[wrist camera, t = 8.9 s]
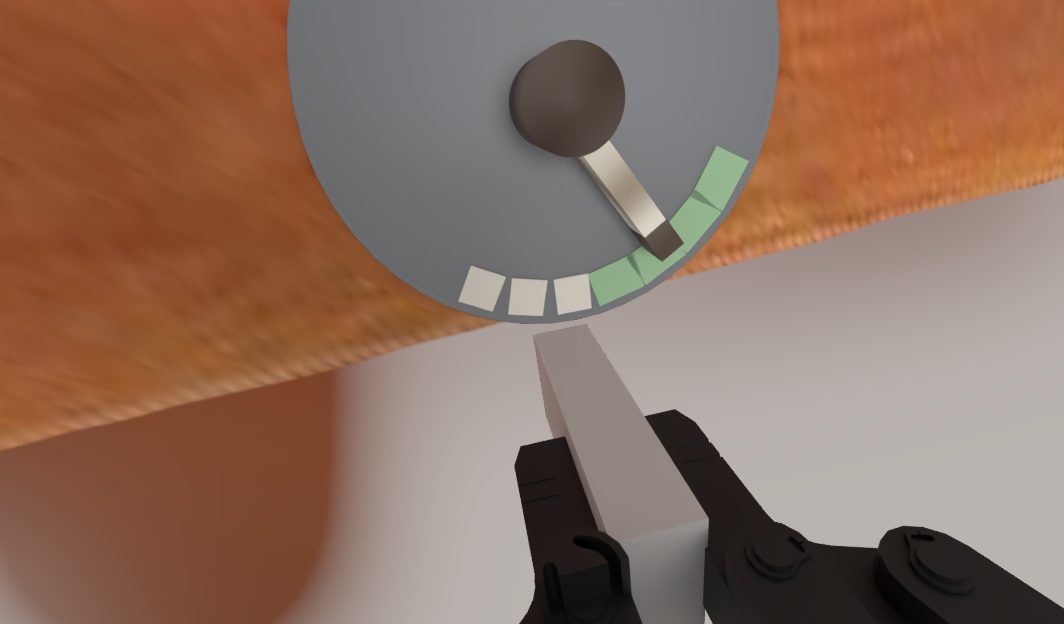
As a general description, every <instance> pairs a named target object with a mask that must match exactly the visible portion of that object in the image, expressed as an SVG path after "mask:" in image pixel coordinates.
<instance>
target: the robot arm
mask: <svg viewBox="0 0 1064 624" xmlns="http://www.w3.org/2000/svg"><path fill="white" fill-rule="evenodd" d="M533 337H534V343H535V349H536V356H537V362H538V369H539V375H540V381H541V387H542V393H543V399H544V406H545V412H546V417H547V420H548V422H549V426H550V429H551V432H552V435H553V438H554V439H551V440H547V441H542V442H538V443H533V444H529V445H525V446H521V447H520V450H519V453H518V456H517V460H516V462H515V472H516V477H517V482H518V487H519V493H520V498H521V503H522V509H523V514H524V520H525V524H526V530H527V535H528V541H529V546H530V551H531V557H532V562H533V567H534V573H535V592H534V598H533V601H532V603H531V605H530V608H529V610H528V612H527V614H526V615H525V616H524V618H523V619H522V621H521V622H520V623H519V624H704V622H705V621H704V620H705V610H706V612H707V613H708V616H709V617H710V619H711V621H712V623H713V624H1064V608H1062V607H1061V606H1059V605H1058V604H1056V603H1055V602H1053V601H1052V600H1050V599H1049V598H1047V597H1046V596H1044V595H1043V594H1041V593H1039V592H1038V591H1036V590H1035V589H1033V588H1032V587H1030V586H1029V585H1027V584H1026V583H1024V582H1023V581H1021V580H1020V579H1018V578H1016V577H1015V576H1013V575H1012V574H1010V573H1009V572H1007V571H1006V570H1004V569H1003V568H1001V567H999V566H998V565H997V564H995V563H994V562H992V561H991V560H989V559H988V558H986V557H984V556H983V555H981V554H980V553H978V552H977V551H975V550H974V549H972V548H971V547H969V546H967V545H965V544H964V543H962V542H960V541H958V540H956V539H954V538H952V537H950V536H948V535H947V534H944V533H941V532H938V531H934V530H931V529H927V528H924V527H913V526H901V527H898V528H895V529H892V530H889V531H887V533H886V534H885V535H884V536H883V538H882V539H881V541H880V543H879V546H878V548H864V547H847V546H831V545H824V544H818V543H814V542H811V541H808V540H807V539H806V538H805V537H803V536H802V535H801V534H800V533H799V532H797V531H795V530H793V529H791V528H789V527H787V526H786V525H784V524H782V523H778V522H774V521H773V520H772V519H771V518H770V517H769V516H768V515H767V514H766V512H765V511H764V510H763V509H762V507H761V506H760V505H759V504H758V502H757V501H756V500H755V498H754V497H753V496H752V495H751V493H750V492H749V491H748V490H747V488H746V487H745V486H744V484H743V483H742V482H741V480H740V479H739V478H738V477H737V475H736V474H735V473H734V471H733V470H732V469H731V468H730V466H729V465H728V464H727V462H726V461H725V460H724V459H723V457H720V454H719V452H718V451H717V450H716V448H715V447H714V446H713V444H712V443H711V442H710V443H709V441H708V438H707V437H706V435H705V434H704V433H703V432H702V430H701V429H700V428H699V426H698V425H697V424H696V423H695V422H694V421H693V420H691V419H690V418H688V417H686V416H685V415H683V414H681V413H680V412H678V411H677V410H675V409H674V410H670V411H666V412H661V413H657V414H652V415H648V416H644V415H643V414H642V412H641V411H640V409H639V407H638V406H637V404H636V402H635V401H634V399H633V398H632V396H631V395H630V393H629V391H628V390H627V388H626V387H625V385H624V383H623V382H622V380H621V379H620V377H619V376H618V374H617V372H616V371H615V369H614V368H613V366H612V365H611V363H610V361H609V360H608V358H607V357H606V355H605V353H604V352H603V350H602V349H601V347H600V346H599V344H598V342H597V341H596V339H595V338H594V336H593V334H592V333H591V331H590V330H589V328H588V326H587V325H586V324H585V325H580V326H575V327H570V328H565V329H560V330H556V331H551V332H546V333H541V334H536V335H533Z"/></svg>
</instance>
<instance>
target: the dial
mask: <svg viewBox="0 0 1064 624" xmlns="http://www.w3.org/2000/svg"><path fill="white" fill-rule="evenodd" d="M779 38H780V31H779V19H778V8H777V0H290V3H289V12H288V21H287V66H288V74H289V81H290V88H291V95H292V102H293V108H294V111H295V115H296V119H297V123H298V126H299V130H300V134H301V138H302V141H303V144H304V147H305V149H306V152H307V154H308V157H309V159H310V162H311V164H312V167H313V169H314V172H315V174H316V176H317V178H318V180H319V182H320V184H321V185H322V187H323V189H324V191H325V193H326V195H327V196H328V198H329V200H330V202H331V204H332V206H333V207H334V209H335V210H336V211H337V213H338V214H339V216H340V217H341V218H342V220H343V221H344V223H345V224H346V225H347V227H348V228H349V230H350V231H351V232H352V234H353V235H354V236H355V237H356V238H357V239H358V240H359V241H360V242H361V244H362V245H363V246H364V247H365V248H366V249H367V250H368V251H369V252H370V253H371V255H372V256H373V257H374V258H376V259H377V260H378V261H379V262H380V263H381V264H382V265H384V266H385V267H386V268H387V269H388V270H389V271H391V272H392V273H393V274H394V275H395V276H396V277H398V278H399V279H401V280H402V281H404V282H405V283H407V284H408V285H410V286H411V287H413V288H414V289H416V290H417V291H419V292H420V293H422V294H424V295H426V296H428V297H430V298H432V299H434V300H436V301H438V302H440V303H442V304H444V305H446V306H448V307H451V308H454V309H456V310H459V311H462V312H465V313H467V314H470V315H474V316H478V317H482V318H487V319H491V320H495V321H502V322H511V323H521V324H539V323H541V324H542V323H555V322H564V321H571V320H577V319H581V318H585V317H588V316H592V315H596V314H600V313H603V312H605V311H608V310H610V309H613V308H615V307H618V306H621V305H623V304H625V303H627V302H629V301H631V300H633V299H635V298H637V297H639V296H641V295H643V294H645V293H646V292H648V291H650V290H651V289H653V288H654V287H656V286H657V285H658V284H660V283H662V282H663V281H664V280H666V279H667V278H669V277H670V276H671V275H673V274H674V273H675V272H676V271H677V270H679V269H680V268H681V267H682V266H683V265H684V264H686V263H687V262H688V261H689V260H690V259H691V258H692V257H693V256H694V255H695V254H696V253H697V252H698V251H699V250H700V249H701V248H702V247H703V246H704V245H705V243H706V242H707V241H708V240H709V239H710V238H711V237H712V235H713V234H714V233H715V232H716V230H717V229H718V228H719V226H720V225H721V224H722V222H723V221H724V220H725V218H726V217H727V216H728V214H729V212H730V211H731V209H732V208H733V206H734V204H735V203H736V201H737V199H738V198H739V196H740V194H741V193H742V191H743V189H744V187H745V185H746V183H747V181H748V179H749V177H750V175H751V172H752V170H753V168H754V166H755V164H756V162H757V159H758V156H759V153H760V150H761V147H762V145H763V142H764V139H765V136H766V133H767V129H768V125H769V121H770V117H771V113H772V109H773V104H774V100H775V92H776V85H777V77H778V70H779ZM566 40H584V41H588V42H591V43H594V44H596V45H597V46H599V47H601V48H602V49H603V50H605V51H606V52H607V53H608V54H609V55H610V56H611V57H612V58H613V60H614V61H615V62H616V64H617V66H618V68H619V70H620V72H621V75H622V78H623V81H624V86H625V107H624V112H623V116H622V119H621V122H620V124H619V126H618V128H617V130H616V131H615V133H614V134H613V136H612V137H611V138H610V140H609V141H610V142H611V143H612V145H613V146H614V148H615V149H616V150H617V152H618V153H619V155H620V156H621V157H622V159H623V160H624V162H625V163H626V164H627V166H628V167H629V169H630V170H631V171H632V173H633V174H634V175H635V177H636V178H637V180H638V181H639V182H640V184H641V185H642V187H643V188H644V189H645V191H646V192H647V194H648V195H649V196H650V198H651V199H652V201H653V202H654V203H655V205H656V206H657V208H658V209H659V210H660V212H661V213H662V215H663V216H664V217H665V218H666V219H667V220H668V221H669V223H670V224H671V225H672V227H673V228H674V230H675V231H676V232H677V234H678V235H679V237H680V238H681V239H682V241H683V242H684V244H683V245H682V246H681V247H679V248H678V249H677V250H676V251H675V252H673V253H672V254H671V255H670V256H669V257H667V258H666V259H665V260H664V261H663V262H662V261H660V260H659V259H658V258H656V257H655V256H653V255H652V254H651V253H649V252H648V251H647V250H646V249H645V248H644V247H643V246H642V244H641V243H640V242H639V240H638V239H637V238H636V236H635V235H634V234H633V232H632V231H631V230H630V229H629V228H630V227H629V226H628V224H627V223H626V222H625V221H624V219H623V218H622V217H621V215H620V214H619V213H618V211H617V210H616V209H615V207H614V206H613V205H612V204H611V202H610V201H609V200H608V198H607V197H606V196H605V194H604V193H603V192H602V191H601V189H600V188H599V187H598V185H597V184H596V183H595V181H594V180H593V179H592V177H591V176H590V175H589V174H588V172H587V171H586V170H585V168H584V167H583V166H582V164H581V163H580V162H579V160H578V159H577V158H576V157H575V158H568V157H561V156H558V155H555V154H552V153H550V152H548V151H545V150H543V149H541V148H539V147H536V146H534V145H532V144H531V143H529V142H528V141H526V140H525V139H524V138H523V137H522V136H521V135H520V133H519V132H518V131H517V129H516V127H515V125H514V124H513V121H512V118H511V115H510V109H509V94H510V89H511V85H512V83H513V80H514V78H515V76H516V74H517V73H518V71H519V70H520V69H521V67H522V66H523V65H524V64H525V63H527V62H528V61H529V60H530V59H532V58H533V57H535V56H537V55H538V54H540V53H541V52H543V51H544V50H546V49H547V48H549V47H550V46H552V45H554V44H556V43H559V42H562V41H566Z"/></svg>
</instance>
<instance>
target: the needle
mask: <svg viewBox="0 0 1064 624" xmlns="http://www.w3.org/2000/svg"><path fill="white" fill-rule="evenodd" d="M624 107H625V86H624V81H623V78H622V75H621V72H620V70H619V68H618V66H617V64H616V62H615V61H614V60H613V58H612V57H611V56H610V55H609V54H608V53H607V52H606V51H605V50H603V49H602V48H601V47H599V46H597V45H596V44H594V43H591V42H588V41H584V40H566V41H562V42H559V43H556V44H554V45H552V46H550V47H549V48H547V49H546V50H544V51H543V52H541V53H540V54H538V55H537V56H535V57H533V58H532V59H530V60H529V61H528V62H527V63H525V64H524V65H523V66H522V67H521V69H520V70H519V71H518V73H517V74H516V76H515V78H514V80H513V83H512V85H511V89H510V94H509V109H510V115H511V118H512V121H513V124H514V125H515V127H516V129H517V131H518V132H519V133H520V135H521V136H522V137H523V138H524V139H525V140H526V141H528V142H529V143H531V144H532V145H534V146H536V147H539V148H541V149H543V150H545V151H548V152H550V153H552V154H555V155H558V156H561V157H568V158H575V157H576V158H577V159H578V160H579V162H580V163H581V164H582V166H583V167H584V168H585V170H586V171H587V172H588V174H589V175H590V176H591V177H592V179H593V180H594V181H595V183H596V184H597V185H598V187H599V188H600V189H601V191H602V192H603V193H604V194H605V196H606V197H607V198H608V200H609V201H610V202H611V204H612V205H613V206H614V207H615V209H616V210H617V211H618V213H619V214H620V215H621V217H622V218H623V219H624V221H625V222H626V223H627V224H628V226H629V227H630V228H629V229H630V230H631V231H632V232H633V234H634V235H635V236H636V238H637V239H638V240H639V242H640V243H641V244H642V246H643V247H644V248H645V249H646V250H647V251H648V252H649V253H651V254H652V255H653V256H655V257H656V258H658V259H659V260H660V261H662V262H663V261H664V260H665V259H666V258H667V257H669V256H670V255H671V254H672V253H673V252H675V251H676V250H677V249H678V248H679V247H681V246H682V245H683V244H684V242H683V241H682V239H681V238H680V237H679V235H678V234H677V232H676V231H675V230H674V228H673V227H672V225H671V224H670V223H669V221H668V220H667V219H666V218H665V217H664V216H663V215H662V213H661V212H660V210H659V209H658V208H657V206H656V205H655V203H654V202H653V201H652V199H651V198H650V196H649V195H648V194H647V192H646V191H645V189H644V188H643V187H642V185H641V184H640V182H639V181H638V180H637V178H636V177H635V175H634V174H633V173H632V171H631V170H630V169H629V167H628V166H627V164H626V163H625V162H624V160H623V159H622V157H621V156H620V155H619V153H618V152H617V150H616V149H615V148H614V146H613V145H612V143H611V142H610V141H609V140H610V138H611V137H612V136H613V134H614V133H615V131H616V130H617V128H618V126H619V124H620V122H621V119H622V116H623V112H624Z"/></svg>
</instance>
